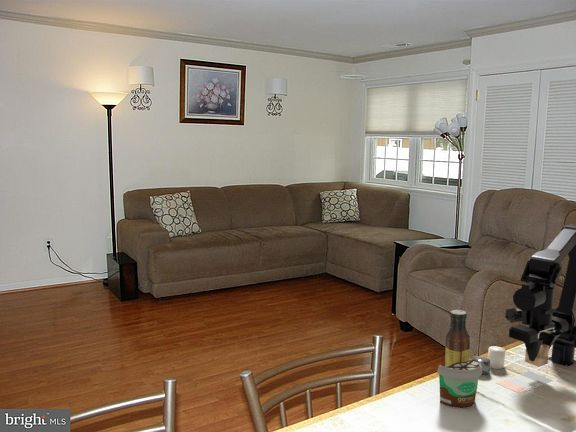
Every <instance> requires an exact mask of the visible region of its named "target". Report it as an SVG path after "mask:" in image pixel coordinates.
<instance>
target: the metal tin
mask: <svg viewBox="0 0 576 432" xmlns="http://www.w3.org/2000/svg"><path fill="white" fill-rule="evenodd" d="M473 357H475V358H477V359H478V360H479V361H480V364H481V367H482V374H481V376H487V375H489V374H490V370H491V367H490V360H489V359H488V357H485V356H482V355H480V356H478V355H476V356H472V357H470V360H472V358H473Z"/></svg>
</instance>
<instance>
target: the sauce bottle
mask: <svg viewBox="0 0 576 432" xmlns="http://www.w3.org/2000/svg"><path fill="white" fill-rule="evenodd" d="M449 317H450V327H449V330H448V331H447V334H446V336H445V344H444V345H445V353H444V355H445V356H444V367H447V366H450V365H452V364H454V363H457V362H467V361H470V360H471V338H470V337H471V336H470V334H469V332H468V330H467V326H466V324H467V323H466V319H467V318H468V316H467V312H466V310H461V309H452V310H450V313H449Z"/></svg>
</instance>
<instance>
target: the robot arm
mask: <svg viewBox="0 0 576 432" xmlns="http://www.w3.org/2000/svg"><path fill="white" fill-rule="evenodd" d="M567 256H568V260H567V261H568V262H567V266H566V271H565V275H564V278H563V279H564V280H563V284H562V289H561V292H560V297H559V301H558V306H557V307H554V300H555V299H554V297H555V286H556V285H557V284H558V281H559V279H560V277H561V275H562V273H563V265H562V263H563V261H564V260H565V258H566V257H567ZM519 281H520V282H523V283H522V284H521V288H518V289H517V290H516V291H515V292H513V295H512V301H513V304H514V306H515V307H512V308H511V307H509V308H505V309H506V310H505V315H504V318H505V319H506V320H507V321H509V324H514V323H520V322H521V324H517V325H514V326H511V327H509V328H508V330H507V331H508V332H507V335H508V338H511V339H514V340H517V341H518V342H519V341H520V342H522V343H524V345H525V346H524V347H525V351H526V350H527V353H528V357H529V360H530V361H532V362H533V361H534V360H535V358H536V356H537V354H538V351H539V349H540V347H541V344H545V345H548V346H549V350H550V348H552V349H551V356H548V361H551V362H553V363H555V364H558V365H561V366H564V367H570V366H573V365H575V364H576V359H575V351H576V225H569V224H566V225H563V226H562V227H561V229H560V232H559V233H558V235H556V236H555V238H554V239H553V240H552V241H551V243H550V244H549V245H548V246H547V247H546V248H545V249H542V250H539V251H536V252H535V253H534V254H532V255H531V256H530V257H529V258H528V259H527V261H526V264H525V266H524V270H523V272H522V275H521V278H520V280H519Z"/></svg>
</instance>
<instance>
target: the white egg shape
mask: <svg viewBox="0 0 576 432" xmlns="http://www.w3.org/2000/svg"><path fill="white" fill-rule="evenodd" d="M487 358H488V359H489V360H490V369H491V368H492V369H495V370H496V369H497V370H502V369H504V368H505V360H506V349H505V348H504V347H501V346H495V345H493V346H489V347H488V352H487Z"/></svg>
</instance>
